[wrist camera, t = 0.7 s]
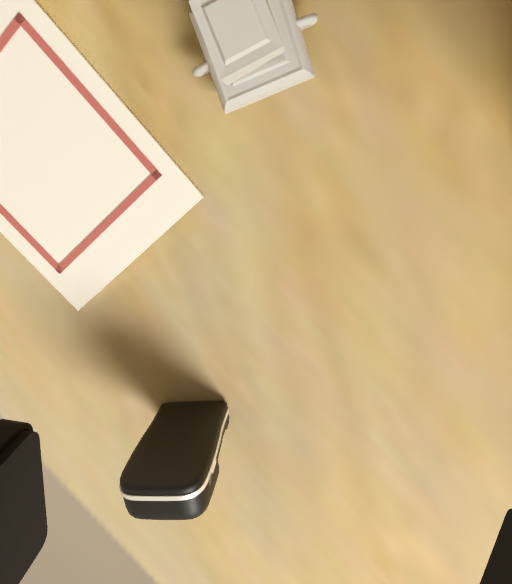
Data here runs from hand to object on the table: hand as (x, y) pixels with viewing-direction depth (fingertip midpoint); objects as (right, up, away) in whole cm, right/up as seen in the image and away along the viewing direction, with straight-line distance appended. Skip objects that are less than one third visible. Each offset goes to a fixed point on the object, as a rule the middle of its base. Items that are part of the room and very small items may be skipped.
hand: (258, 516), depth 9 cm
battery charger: (-6, -8, +35) cm, 36 cm away
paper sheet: (-17, +16, +28) cm, 37 cm away
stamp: (0, +22, +24) cm, 32 cm away
